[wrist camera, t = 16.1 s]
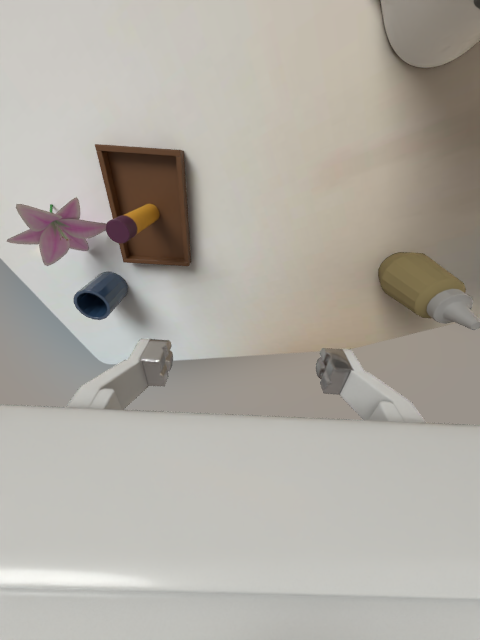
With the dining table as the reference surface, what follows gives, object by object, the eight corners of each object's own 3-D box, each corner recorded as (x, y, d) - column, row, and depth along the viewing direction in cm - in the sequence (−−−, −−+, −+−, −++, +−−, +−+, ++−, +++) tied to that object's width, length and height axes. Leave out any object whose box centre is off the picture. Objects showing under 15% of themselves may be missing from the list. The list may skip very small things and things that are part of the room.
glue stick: (141, 202, 36) (102, 218, 26) (158, 203, 36) (126, 220, 26) (144, 221, 37) (109, 242, 28) (161, 222, 37) (131, 244, 28)
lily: (59, 254, 42) (56, 288, 37) (-14, 193, 33) (-31, 226, 27) (117, 226, 43) (123, 255, 38) (63, 157, 33) (61, 183, 28)
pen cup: (93, 270, 43) (68, 289, 37) (124, 272, 43) (104, 291, 37) (102, 297, 46) (80, 318, 40) (130, 299, 47) (113, 320, 40)
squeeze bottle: (411, 285, 44) (495, 348, 29) (367, 289, 45) (428, 353, 30) (425, 243, 39) (534, 292, 25) (376, 248, 40) (454, 299, 25)
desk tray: (102, 145, 32) (94, 144, 31) (183, 150, 33) (180, 150, 31) (128, 258, 42) (123, 262, 40) (191, 261, 42) (189, 266, 40)
